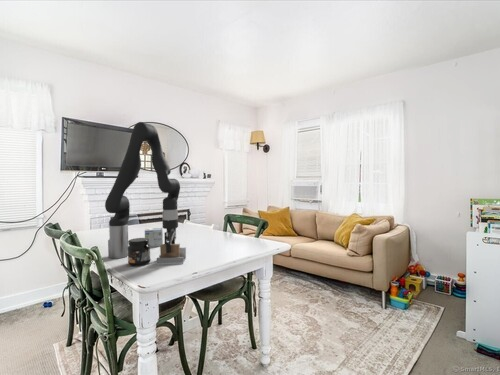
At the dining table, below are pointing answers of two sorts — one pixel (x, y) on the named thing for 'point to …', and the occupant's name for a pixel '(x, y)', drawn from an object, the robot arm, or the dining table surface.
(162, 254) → the brown rectangular block
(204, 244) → the dining table surface
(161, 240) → the light bulb box
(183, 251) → the grey channel holder
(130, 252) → the supplement container
